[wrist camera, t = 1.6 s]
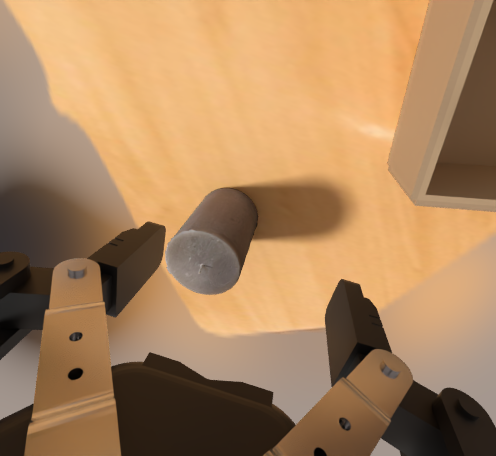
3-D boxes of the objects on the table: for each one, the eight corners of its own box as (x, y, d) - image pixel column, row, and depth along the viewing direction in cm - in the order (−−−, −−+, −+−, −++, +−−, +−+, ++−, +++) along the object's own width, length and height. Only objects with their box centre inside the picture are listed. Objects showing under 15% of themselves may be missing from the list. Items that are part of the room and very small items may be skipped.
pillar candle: (267, 230, 47) (252, 293, 34) (216, 247, 50) (185, 309, 37) (242, 177, 43) (214, 224, 30) (188, 199, 46) (143, 249, 33)
